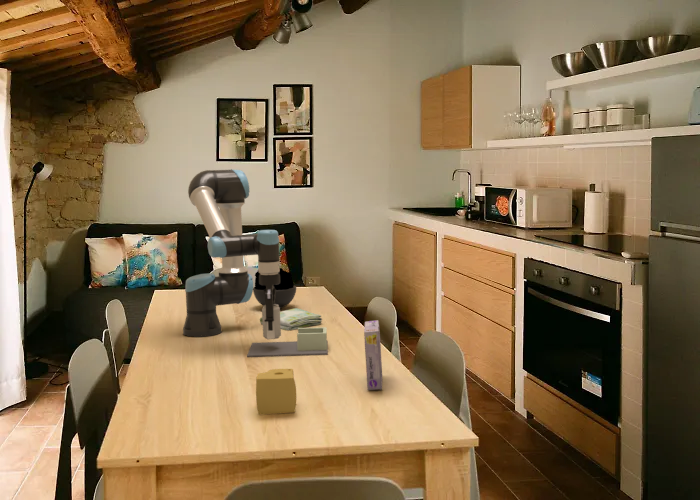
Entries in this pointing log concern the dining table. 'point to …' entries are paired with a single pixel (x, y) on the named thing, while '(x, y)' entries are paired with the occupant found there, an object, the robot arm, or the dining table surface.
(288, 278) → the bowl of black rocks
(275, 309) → the beverage can
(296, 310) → the towel
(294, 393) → the cheese
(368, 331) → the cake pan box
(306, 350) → the mount
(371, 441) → the dining table surface
